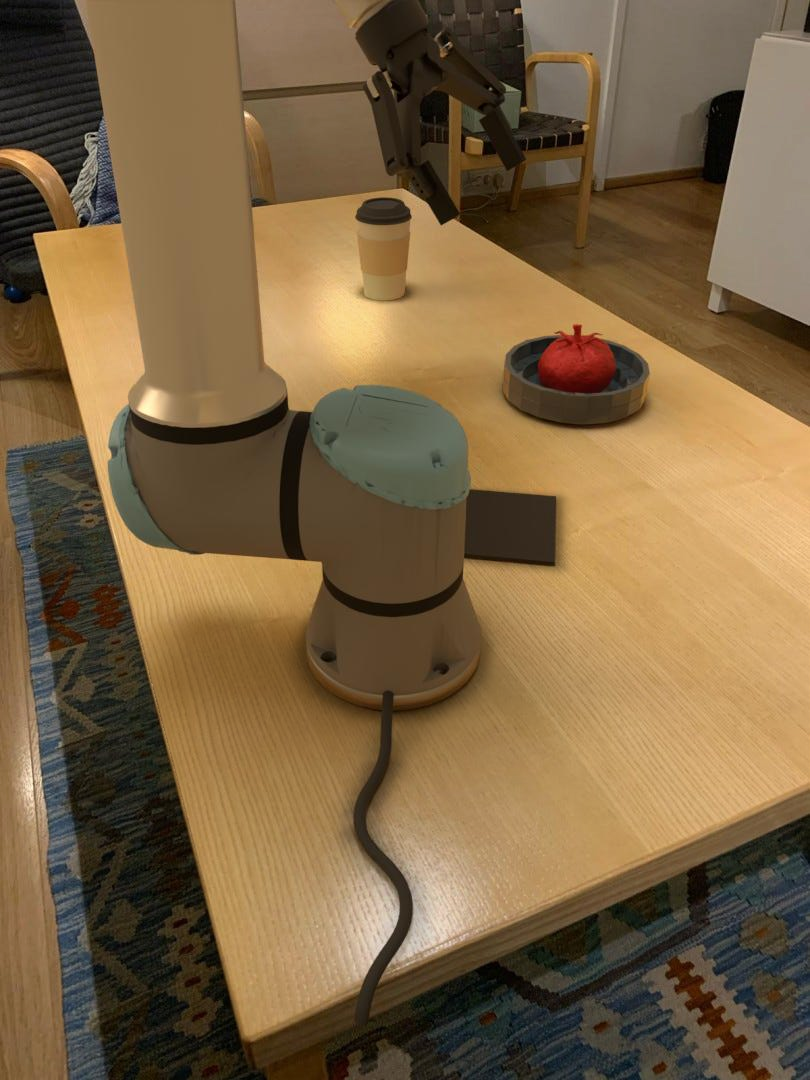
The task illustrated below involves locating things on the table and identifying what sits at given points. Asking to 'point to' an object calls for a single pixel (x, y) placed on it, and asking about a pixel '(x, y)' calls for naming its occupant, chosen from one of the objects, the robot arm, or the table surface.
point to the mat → (510, 527)
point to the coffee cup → (383, 246)
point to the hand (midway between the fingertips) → (484, 192)
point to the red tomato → (577, 363)
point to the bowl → (567, 406)
